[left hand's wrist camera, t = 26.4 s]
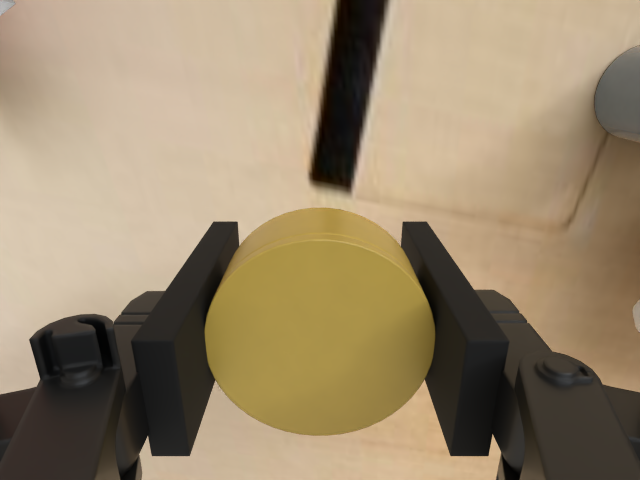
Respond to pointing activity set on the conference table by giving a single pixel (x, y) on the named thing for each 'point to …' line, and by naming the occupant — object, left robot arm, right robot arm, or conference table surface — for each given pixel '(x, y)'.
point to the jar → (620, 96)
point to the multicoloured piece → (5, 5)
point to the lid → (319, 324)
